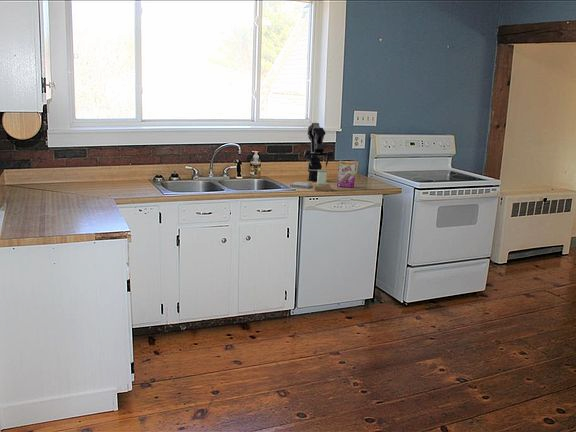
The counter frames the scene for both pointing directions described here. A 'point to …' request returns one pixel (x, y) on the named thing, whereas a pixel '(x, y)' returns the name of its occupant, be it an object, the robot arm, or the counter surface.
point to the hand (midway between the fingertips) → (319, 166)
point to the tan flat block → (321, 187)
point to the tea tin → (321, 177)
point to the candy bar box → (346, 174)
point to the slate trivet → (302, 184)
